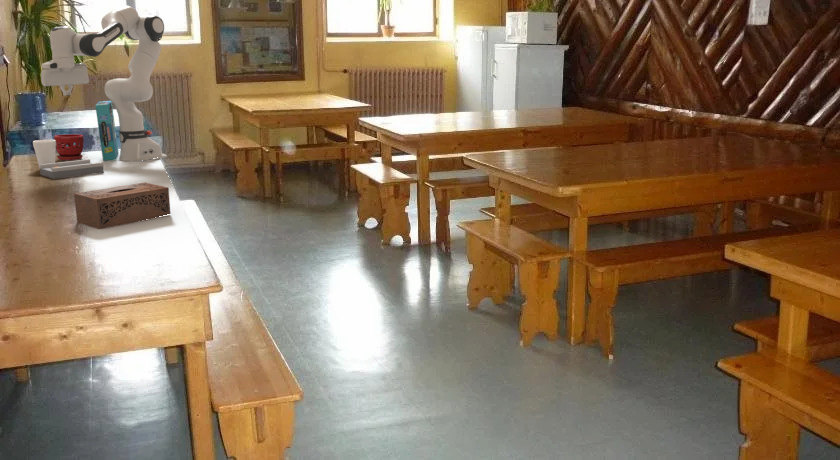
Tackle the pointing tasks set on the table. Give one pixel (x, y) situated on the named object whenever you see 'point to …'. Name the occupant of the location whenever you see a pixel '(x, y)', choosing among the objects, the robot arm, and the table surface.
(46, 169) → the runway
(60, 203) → the table surface
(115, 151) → the game box
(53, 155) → the foam cup
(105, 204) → the tissue box cover
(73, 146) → the plant pot
